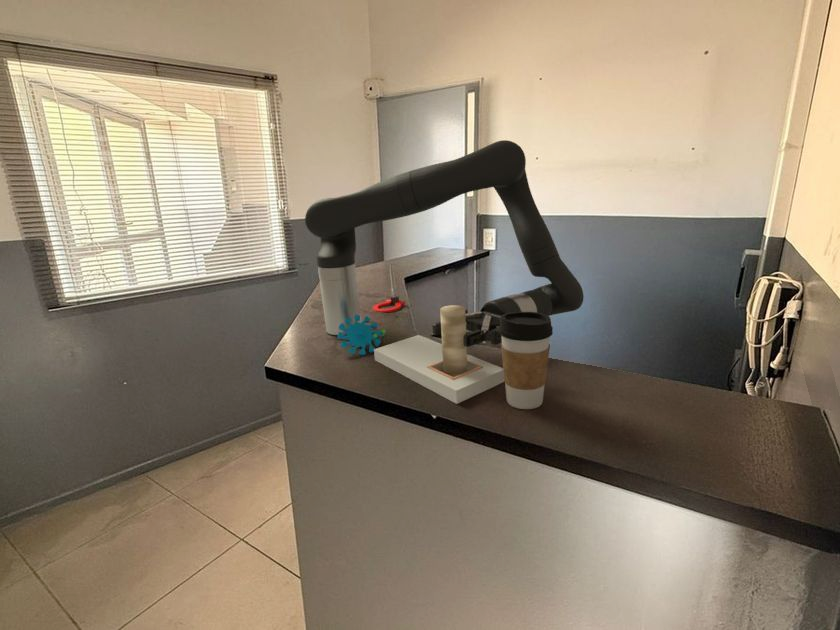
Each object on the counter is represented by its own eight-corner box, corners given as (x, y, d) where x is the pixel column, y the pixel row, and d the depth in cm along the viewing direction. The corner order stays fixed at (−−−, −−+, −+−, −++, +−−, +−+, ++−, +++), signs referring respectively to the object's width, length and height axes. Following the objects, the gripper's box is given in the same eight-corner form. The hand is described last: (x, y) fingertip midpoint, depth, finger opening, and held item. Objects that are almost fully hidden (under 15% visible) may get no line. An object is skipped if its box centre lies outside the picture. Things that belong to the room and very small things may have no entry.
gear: (340, 354, 94) (335, 313, 98) (336, 365, 99) (332, 326, 103) (390, 351, 98) (383, 312, 102) (384, 362, 102) (378, 324, 107)
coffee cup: (489, 396, 76) (488, 313, 71) (529, 384, 79) (531, 305, 74) (518, 418, 68) (519, 328, 64) (561, 405, 71) (565, 318, 67)
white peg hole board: (374, 360, 94) (373, 348, 93) (419, 345, 100) (418, 334, 100) (456, 404, 74) (456, 389, 73) (504, 381, 81) (504, 368, 80)
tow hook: (390, 315, 125) (408, 305, 132) (384, 272, 120) (403, 263, 128) (367, 312, 129) (386, 303, 136) (361, 270, 125) (381, 262, 132)
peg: (438, 379, 83) (435, 309, 79) (456, 372, 86) (453, 303, 81) (454, 387, 80) (451, 314, 75) (472, 379, 82) (470, 308, 78)
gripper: (483, 291, 93) (423, 308, 83) (538, 303, 82) (476, 324, 72) (483, 324, 95) (425, 344, 86) (537, 340, 84) (477, 366, 75)
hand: (448, 335), depth 79 cm, fingers open, 8 cm apart
